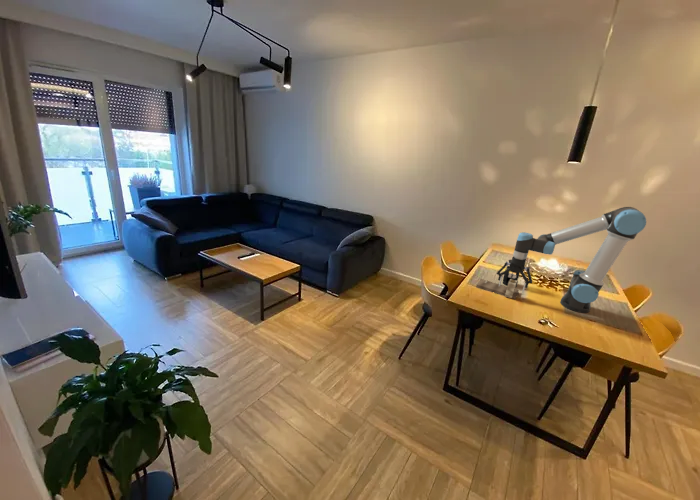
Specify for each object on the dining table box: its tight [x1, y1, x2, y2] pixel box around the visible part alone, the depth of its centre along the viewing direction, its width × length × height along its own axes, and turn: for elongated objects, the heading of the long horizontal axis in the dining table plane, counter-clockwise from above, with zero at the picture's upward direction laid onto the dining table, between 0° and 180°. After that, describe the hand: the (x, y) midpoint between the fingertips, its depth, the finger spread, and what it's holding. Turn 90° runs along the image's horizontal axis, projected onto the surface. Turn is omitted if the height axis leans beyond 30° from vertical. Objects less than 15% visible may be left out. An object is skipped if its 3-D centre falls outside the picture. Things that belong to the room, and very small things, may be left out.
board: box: [475, 278, 520, 300], centre depth 202 cm, size 24×12×2 cm, turn 55°
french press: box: [501, 259, 520, 288], centre depth 208 cm, size 12×9×23 cm
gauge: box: [504, 279, 518, 299], centre depth 193 cm, size 4×8×10 cm, turn 145°
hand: (510, 288), depth 193 cm, fingers open, 13 cm apart
